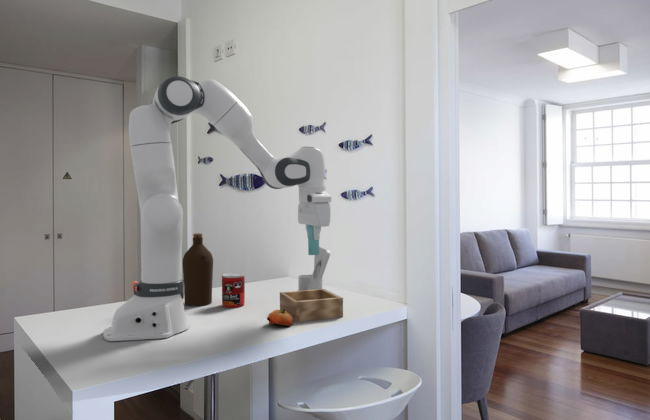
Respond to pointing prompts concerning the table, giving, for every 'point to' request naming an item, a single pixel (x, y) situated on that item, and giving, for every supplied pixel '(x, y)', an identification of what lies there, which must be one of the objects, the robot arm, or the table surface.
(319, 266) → the phone holder
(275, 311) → the tomato
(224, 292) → the canned food
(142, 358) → the table surface
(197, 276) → the olive oil
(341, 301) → the box
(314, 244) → the peg
